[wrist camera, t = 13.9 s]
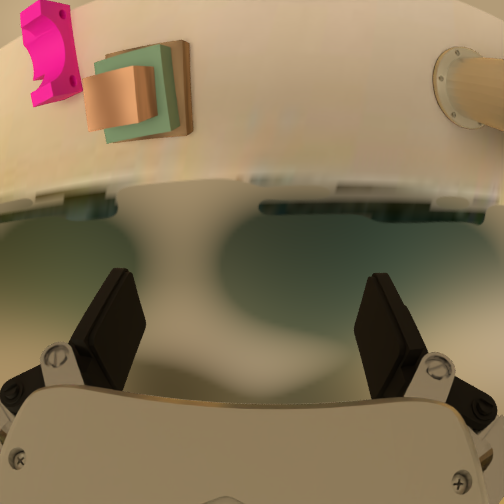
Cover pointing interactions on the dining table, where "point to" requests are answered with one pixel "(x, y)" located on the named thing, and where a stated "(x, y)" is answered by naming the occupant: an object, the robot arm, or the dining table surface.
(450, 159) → the dining table surface
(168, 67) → the tower top
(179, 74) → the tower base
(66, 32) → the magenta curved bracket
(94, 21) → the dining table surface
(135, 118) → the terracotta cube
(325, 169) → the dining table surface
